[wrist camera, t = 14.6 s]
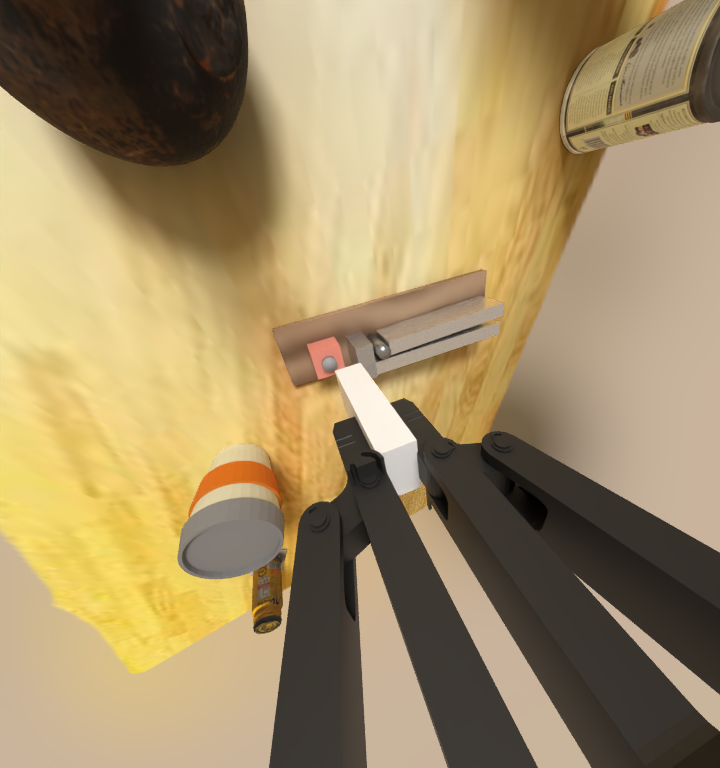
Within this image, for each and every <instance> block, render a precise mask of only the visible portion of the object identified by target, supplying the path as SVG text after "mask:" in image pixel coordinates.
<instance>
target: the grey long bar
mask: <svg viewBox="0 0 720 768" xmlns="http://www.w3.org/2000/svg"><path fill="white" fill-rule="evenodd" d="M499 330H500V322H499V321H496V320H494V319H493V320H490V321H487V322H484V323H481V324H478V325H476V326H473V327H470V328H467V329H464V330H461V331H459V332H456V333H453V334H450V335H447V336H444V337H441V338H439V339H436V340H433V341H430V342H427V343H424V344H422V345H419V346H416V347H413V348H410V349H407V350H404V351H402V352H399V353H396V354H393V355H390V357H389V358H387V359H381V358H380V357H379V356H378V355H377V354H376V353H375V352H374V350H373V344H372V343H371V342H370V341H369V340H368V339H367V338H366V337H365V336H364V334H363V333H362V332H359V333H355V334H352V335H349V336H346V340H347V345H348V349H349V354H350V358H351V362H352V365H354V364H358V363H361V364H362V366H363V367H364V368H365V370H366V371H367V372H368V374H369V375H370V377H371V378H372V379H373V378H376V377H378V374H381V373H384V372H387V371H390V370H393V369H396V368H399V367H402V366H405V365H408V364H411V363H415V362H418V361H421V360H424V359H427V358H430V357H433V356H436V355H439V354H442V353H445V352H448V351H451V350H454V349H457V348H460V347H463V346H466V345H469V344H472V343H475V342H478V341H481V340H484V339H487V338H490V337H493V336H496V335H499Z"/></svg>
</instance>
